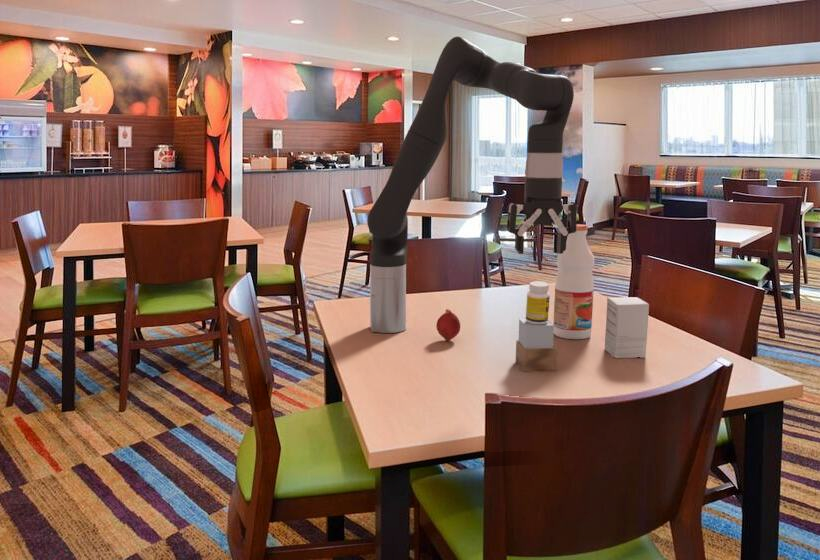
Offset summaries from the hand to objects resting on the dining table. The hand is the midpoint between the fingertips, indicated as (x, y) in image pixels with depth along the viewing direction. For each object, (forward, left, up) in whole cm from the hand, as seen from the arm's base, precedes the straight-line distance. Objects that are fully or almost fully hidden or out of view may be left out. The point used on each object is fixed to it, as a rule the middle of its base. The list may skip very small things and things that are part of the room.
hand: (540, 253), depth 141 cm
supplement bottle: (0, 0, -15) cm, 15 cm away
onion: (-16, +21, -25) cm, 36 cm away
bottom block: (0, 0, -25) cm, 25 cm away
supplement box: (+23, +7, -25) cm, 35 cm away
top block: (0, 0, -20) cm, 20 cm away
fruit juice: (+16, +23, -25) cm, 38 cm away
